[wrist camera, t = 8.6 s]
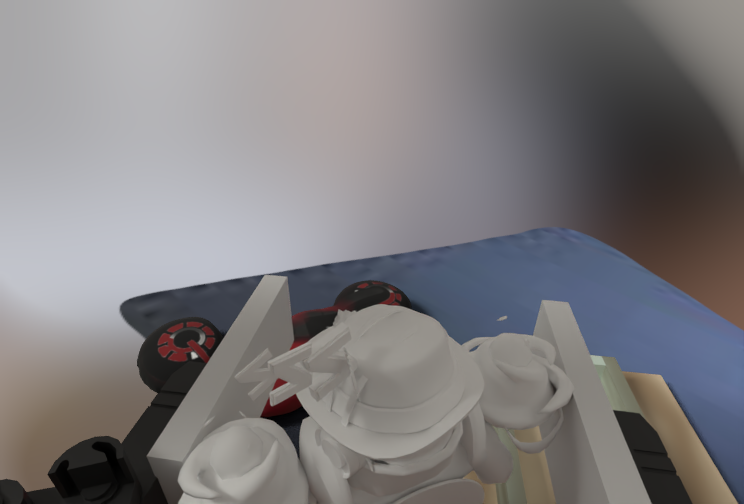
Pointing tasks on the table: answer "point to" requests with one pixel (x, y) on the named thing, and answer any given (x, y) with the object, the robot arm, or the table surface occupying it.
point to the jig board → (625, 393)
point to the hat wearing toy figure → (382, 416)
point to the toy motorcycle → (203, 338)
